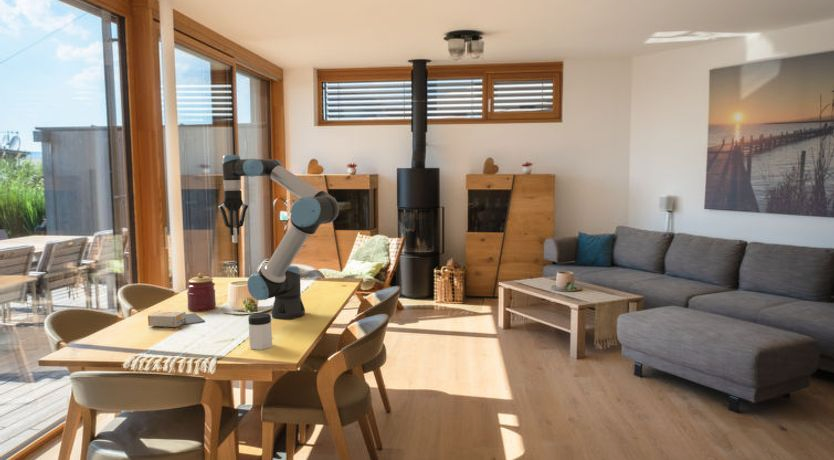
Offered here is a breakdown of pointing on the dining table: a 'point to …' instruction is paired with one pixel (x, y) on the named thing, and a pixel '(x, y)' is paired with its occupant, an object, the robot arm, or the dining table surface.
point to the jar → (260, 331)
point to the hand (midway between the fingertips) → (235, 242)
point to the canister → (201, 293)
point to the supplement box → (167, 319)
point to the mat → (191, 319)
